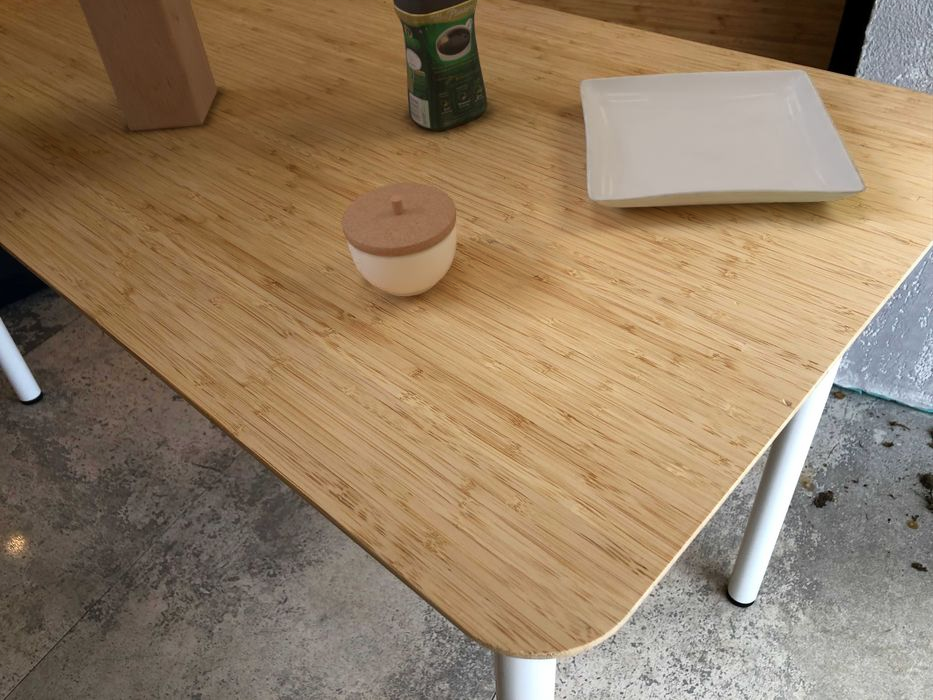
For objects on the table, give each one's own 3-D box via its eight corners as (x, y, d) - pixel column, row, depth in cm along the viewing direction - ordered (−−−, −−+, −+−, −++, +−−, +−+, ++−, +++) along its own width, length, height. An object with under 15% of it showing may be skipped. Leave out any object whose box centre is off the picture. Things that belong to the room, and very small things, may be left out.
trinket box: (387, 328, 79) (371, 247, 73) (338, 272, 86) (319, 194, 80) (483, 284, 83) (476, 203, 76) (428, 233, 90) (417, 155, 83)
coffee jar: (464, 92, 112) (450, -55, 100) (496, 115, 107) (486, -38, 94) (400, 116, 109) (377, -34, 96) (430, 140, 104) (411, -14, 91)
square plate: (862, 220, 85) (871, 187, 82) (587, 229, 88) (587, 197, 85) (802, 93, 105) (808, 62, 102) (578, 103, 107) (578, 74, 105)
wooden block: (203, 127, 112) (152, -30, 98) (129, 133, 112) (67, -22, 98) (218, 91, 119) (173, -59, 105) (149, 97, 119) (94, -52, 106)
